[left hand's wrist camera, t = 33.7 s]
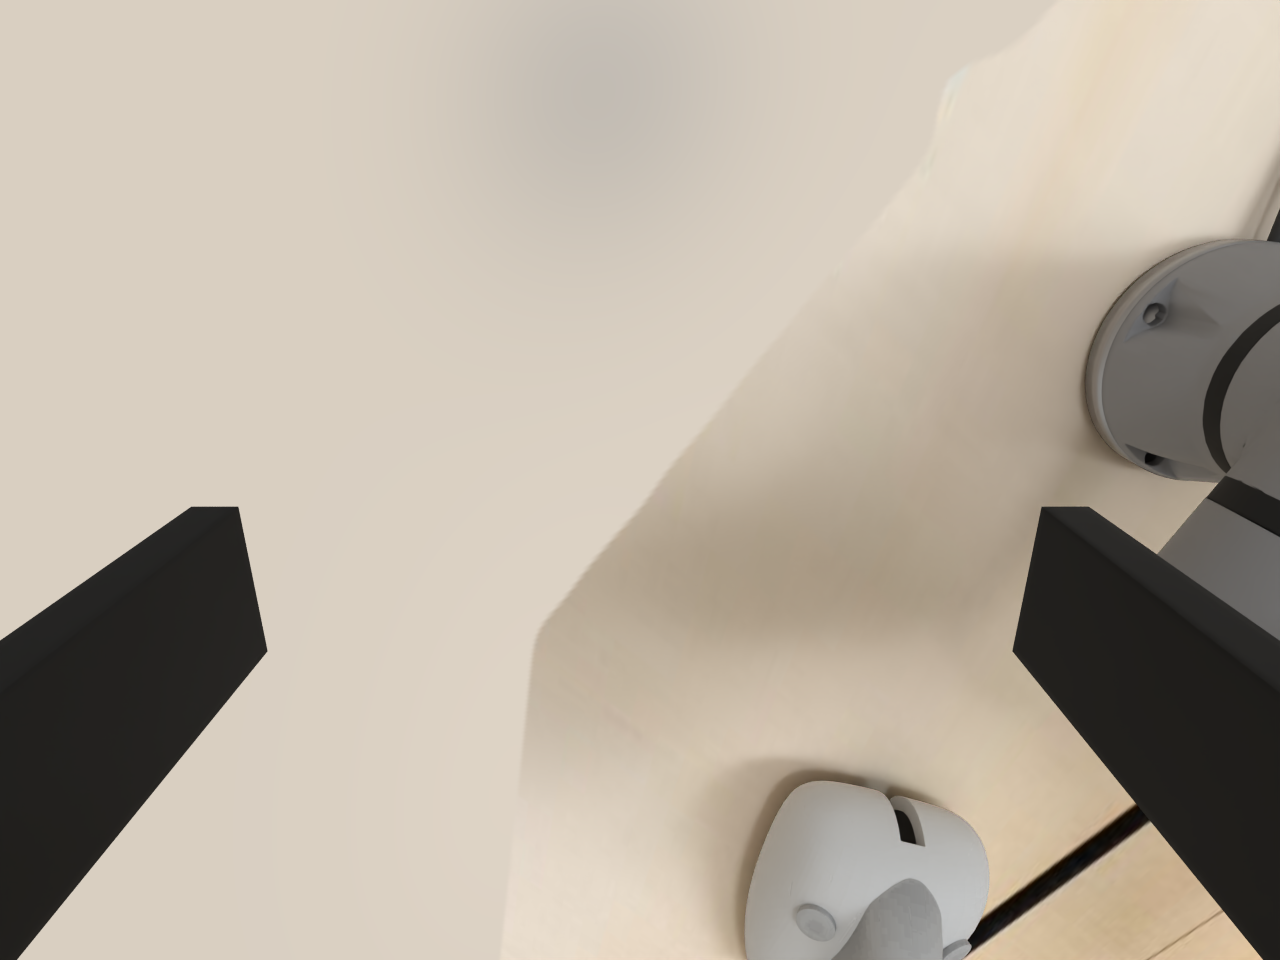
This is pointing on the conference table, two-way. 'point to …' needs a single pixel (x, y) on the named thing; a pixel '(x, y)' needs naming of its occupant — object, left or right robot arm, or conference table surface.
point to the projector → (865, 879)
